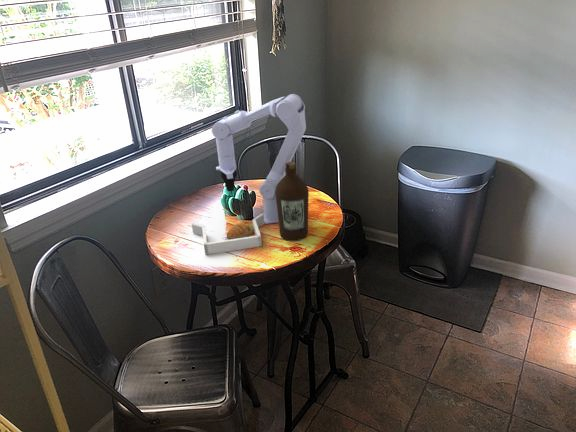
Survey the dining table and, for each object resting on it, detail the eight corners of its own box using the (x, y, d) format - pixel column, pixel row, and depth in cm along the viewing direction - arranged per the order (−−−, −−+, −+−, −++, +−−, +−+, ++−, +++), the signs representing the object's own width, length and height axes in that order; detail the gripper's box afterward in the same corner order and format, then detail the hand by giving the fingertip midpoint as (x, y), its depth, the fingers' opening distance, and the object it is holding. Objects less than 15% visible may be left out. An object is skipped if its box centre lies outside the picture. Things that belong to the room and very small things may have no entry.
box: (264, 222, 165) (263, 213, 163) (272, 244, 150) (271, 234, 149) (193, 232, 161) (191, 223, 159) (194, 256, 146) (192, 246, 145)
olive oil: (277, 227, 160) (273, 158, 149) (308, 226, 161) (306, 156, 149) (278, 243, 151) (273, 170, 140) (311, 241, 151) (308, 168, 140)
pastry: (235, 243, 153) (234, 233, 151) (222, 237, 157) (220, 227, 155) (256, 232, 159) (255, 222, 157) (242, 227, 163) (241, 217, 161)
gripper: (213, 149, 168) (217, 184, 174) (216, 162, 155) (220, 199, 161) (232, 147, 169) (236, 182, 175) (237, 160, 156) (241, 197, 162)
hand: (230, 190), depth 168 cm, fingers closed
